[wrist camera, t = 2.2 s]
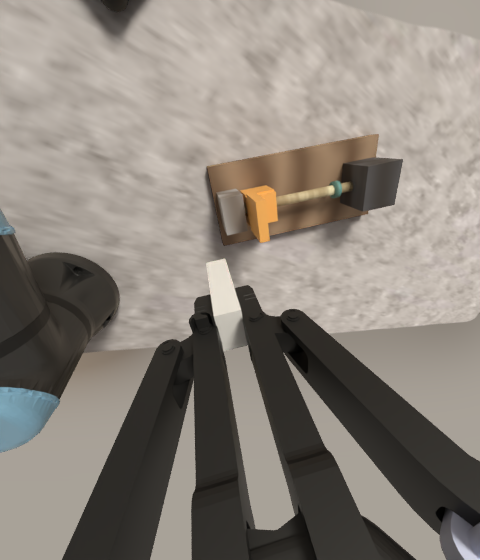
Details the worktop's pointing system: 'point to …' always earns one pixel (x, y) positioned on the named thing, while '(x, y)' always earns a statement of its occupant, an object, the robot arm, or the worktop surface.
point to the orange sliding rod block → (260, 210)
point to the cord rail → (306, 186)
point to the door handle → (115, 4)
